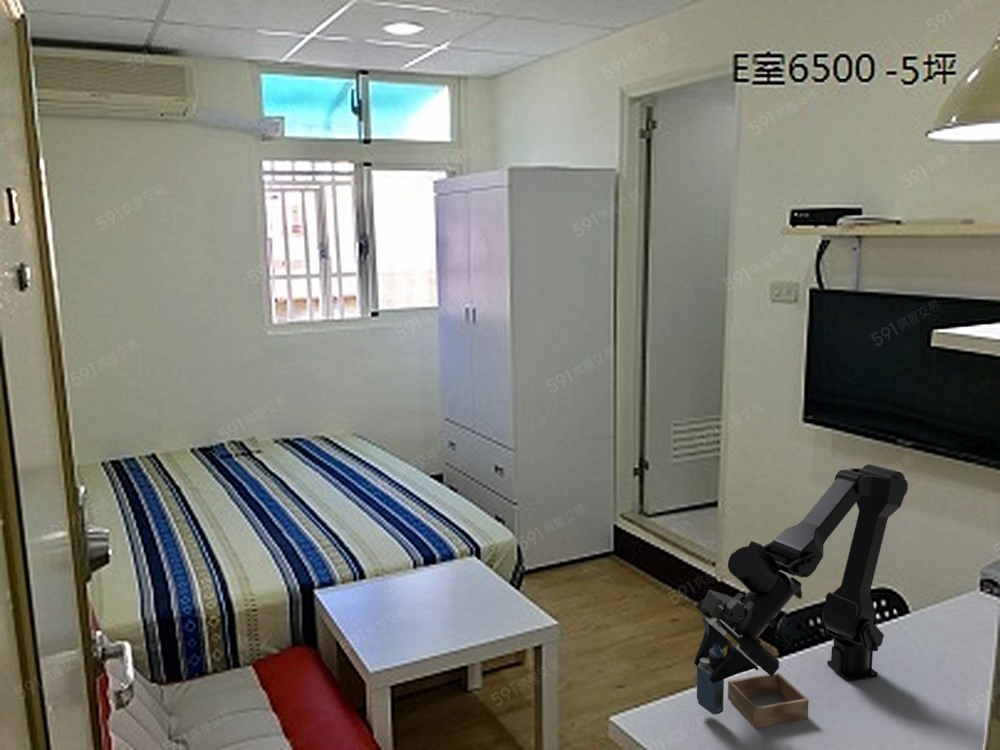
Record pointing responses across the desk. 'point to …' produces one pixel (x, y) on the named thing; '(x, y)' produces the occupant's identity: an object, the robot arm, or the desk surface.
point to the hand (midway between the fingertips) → (703, 673)
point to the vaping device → (706, 690)
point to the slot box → (771, 713)
